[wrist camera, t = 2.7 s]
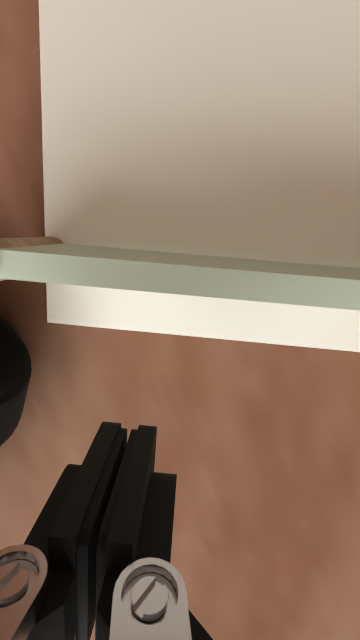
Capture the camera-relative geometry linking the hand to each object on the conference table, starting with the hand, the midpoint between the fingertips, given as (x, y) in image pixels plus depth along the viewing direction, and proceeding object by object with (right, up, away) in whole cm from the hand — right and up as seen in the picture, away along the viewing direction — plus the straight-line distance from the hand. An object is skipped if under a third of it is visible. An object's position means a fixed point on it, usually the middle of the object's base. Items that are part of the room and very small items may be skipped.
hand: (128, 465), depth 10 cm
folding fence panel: (+3, +7, +7) cm, 10 cm away
